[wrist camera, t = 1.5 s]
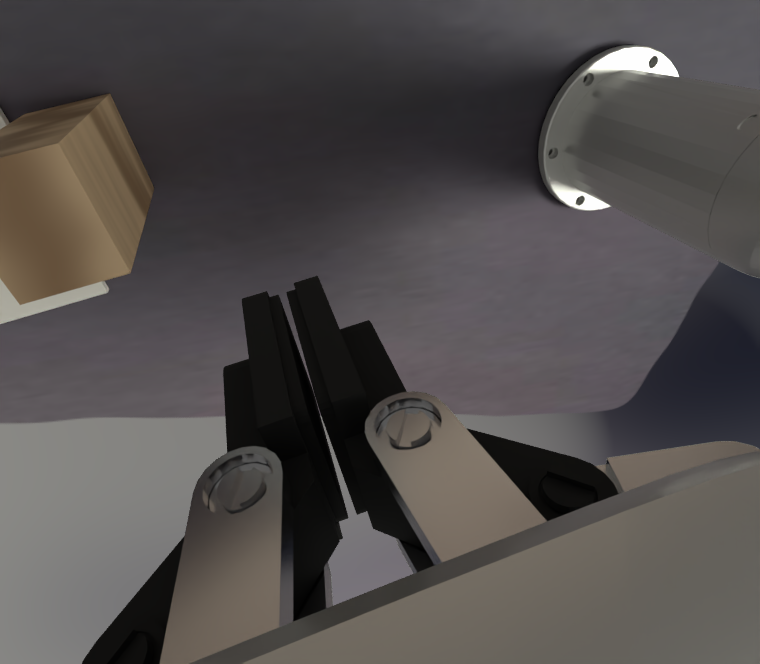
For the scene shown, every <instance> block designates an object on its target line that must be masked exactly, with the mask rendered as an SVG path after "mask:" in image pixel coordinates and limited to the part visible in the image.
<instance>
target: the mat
mask: <svg viewBox="0 0 760 664" xmlns="http://www.w3.org/2000/svg"><path fill="white" fill-rule="evenodd" d="M8 124H9V121H8V119H7V118H6V116H5V114H4V113H3V111H2V109H1V108H0V129H2V128H3V127H5V126H6V125H8ZM108 291H109V288H108V286H107V284H106V283H105V281H102V282H98V283H95V284H91V285H88V286H84V287H81V288H77V289H74V290H71V291H67V292H64V293H60V294H57V295H53V296H50V297H46V298H43V299H39V300H36V301H32V302H29V303H26V304H22V305H20V304H19V303H18V302H17V300H16V299H15V298H14V296H13V295H12V294H11V292H10V291H9V290H8V288H7V287H6V286H5V284H4V283H3V282H2V280H1V279H0V324H2V323H6V322H9V321H13V320H16V319H19V318H23V317H26V316H30V315H33V314H37V313H40V312H43V311H47V310H50V309H54V308H57V307H60V306H64V305H67V304H71V303H74V302H78V301H81V300H84V299H88V298H91V297H95V296H98V295H102V294H105V293H108Z"/></svg>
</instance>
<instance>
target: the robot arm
mask: <svg viewBox="0 0 760 664" xmlns="http://www.w3.org/2000/svg"><path fill="white" fill-rule="evenodd" d="M538 160H539V168H540V173H541V176H542V179H543V182H544V184H545V186H546V187H547V189H548V190H549V192H550V193H551V194H552V195H553V196H554V197H555V198H556V199H557V200H558V201H560V202H562V203H564V204H565V205H567V206H569V207H571V208H574V209H577V210H584V211H593V210H601V209H604V208H607V207H611V206H612V207H614V208H616V209H618V210H620V211H622V212H624V213H626V214H628V215H630V216H632V217H634V218H635V219H637V220H639V221H641V222H643V223H645V224H647V225H649V226H651V227H653V228H655V229H657V230H659V231H661V232H663V233H665V234H667V235H669V236H671V237H673V238H675V239H677V240H679V241H681V242H683V243H684V244H686V245H688V246H690V247H692V248H694V249H696V250H698V251H700V252H702V253H704V254H706V255H708V256H710V257H712V258H714V259H716V260H718V261H720V262H722V263H724V264H726V265H728V266H730V267H732V268H734V269H736V270H738V271H740V272H743V273H745V274H748V275H750V276H754V277H758V278H760V90H757V89H751V88H745V87H739V86H733V85H727V84H720V83H714V82H708V81H702V80H696V79H690V78H684V77H679V75H678V72H677V70H676V68H675V67H674V65H673V64H672V62H671V60H670V59H669V58H667V57H666V56H665V55H664V54H663V53H662V52H660V51H658V50H655V49H653V48H651V47H646V46H639V45H622V46H618V47H614V48H610V49H607V50H605V51H603V52H601V53H599V54H597V55H595V56H594V57H592V58H591V59H590V60H588V61H587V62H586V63H584V64H583V65H582V66H580V67H579V68H578V69H577V70H576V71H575V72H574V73H573V74H572V75H571V76H570V77H569V78H568V80H567V81H566V82H565V84H564V85H563V86H562V88H561V89H560V90H559V92H558V93H557V95H556V97H555V99H554V100H553V102H552V104H551V106H550V108H549V110H548V112H547V115H546V118H545V120H544V123H543V126H542V130H541V135H540V139H539V150H538ZM294 285H295V288H296V289H295V290H292V291H289V292H286V293H287V297H288V300H289V304H290V307H291V311H292V315H293V318H294V322H295V325H296V329H297V332H298V336H299V340H300V343H301V347H302V350H303V354H304V358H305V361H306V365H307V368H308V372H309V375H310V379H311V383H312V386H313V389H312V386H311V384H310V381H309V378H308V375H307V372H306V370H305V367H304V364H303V361H302V358H301V356H300V353H299V350H298V347H297V345H296V342H295V339H294V336H293V333H292V331H291V328H290V325H289V322H288V320H287V317H286V314H285V311H284V308H283V306H282V303H281V300H280V297H279V295H276V296H272V297H269V295H268V293H267V291H266V292H263V293H260V294H256V295H253V296H250V297H246V298H243V299H242V306H243V314H244V322H245V330H246V338H247V346H248V354H249V359H247V360H244V361H241V362H238V363H235V364H231V365H228V366H225V367H224V370H223V376H224V396H225V416H226V436H227V453H226V454H225V455H223V456H221V457H220V458H218V459H216V460H215V461H214V462H213V463H212V464H211V465H210V466H209V467H208V468H207V469H206V470H205V471H204V472H203V474H202V475H201V477H200V478H199V479H198V481H197V484H196V487H195V489H194V492H193V497H192V501H191V507H190V511H189V516H188V522H187V527H186V532H185V536H184V537H183V539H182V540H181V541H180V542H179V543H178V545H177V546H176V547H175V548H174V550H173V551H172V552H171V553H170V554H169V555H168V557H167V558H166V559H165V560H164V561H163V562H162V564H161V565H160V566H159V567H158V569H157V570H156V571H155V572H154V573H153V574H152V576H151V577H150V578H149V579H148V581H147V582H146V583H145V584H144V585H143V587H142V588H141V589H140V590H139V591H138V592H137V594H136V595H135V596H134V597H133V598H132V600H131V601H130V602H129V603H128V604H127V606H126V607H125V608H124V609H123V611H122V612H121V613H120V614H119V615H118V616H117V618H116V619H115V620H114V621H113V622H112V624H111V625H110V626H109V627H108V628H107V630H106V631H105V632H104V633H103V634H102V635H101V637H100V638H99V639H98V640H97V641H96V643H95V644H94V646H93V647H92V649H91V650H90V652H89V653H88V654H87V656H86V657H85V659H84V660H83V662H82V664H760V449H758V448H756V447H754V446H751V445H747V444H743V443H740V442H736V441H717V442H711V443H704V444H697V445H690V446H683V447H678V448H670V449H664V450H657V451H650V452H644V453H637V454H630V455H623V456H617V457H610V458H607V461H606V464H605V465H599V466H594V465H593V464H591V463H588V462H586V461H583V460H581V459H578V458H575V457H571V456H567V455H564V454H559V453H556V452H552V451H549V450H545V449H541V448H538V447H534V446H530V445H526V444H523V443H519V442H515V441H511V440H508V439H504V438H500V437H496V436H493V435H489V434H485V433H481V432H478V431H474V430H470V429H466V428H465V427H464V425H463V424H462V423H461V422H460V421H459V420H458V419H457V417H456V416H455V415H454V414H453V413H452V412H451V410H450V409H449V408H448V407H447V406H446V405H445V404H444V403H443V402H442V401H441V400H439V399H438V398H437V397H435V396H432V395H430V394H427V393H423V392H414V391H412V392H407V391H406V389H405V388H404V386H403V384H402V382H401V380H400V378H399V376H398V374H397V372H396V370H395V368H394V366H393V364H392V362H391V360H390V358H389V356H388V355H387V353H386V351H385V349H384V347H383V345H382V343H381V341H380V339H379V337H378V335H377V333H376V331H375V329H374V327H373V325H372V324H371V322H370V321H369V320H368V321H365V322H362V323H359V324H355V325H352V326H349V327H346V328H343V329H339V327H338V324H337V322H336V319H335V317H334V315H333V312H332V310H331V307H330V305H329V302H328V300H327V297H326V295H325V293H324V290H323V288H322V285H321V283H320V280H319V278H318V276H315V277H312V278H309V279H305V280H302V281H299V282H296V283H294ZM313 390H314V392H313ZM314 393H315V396H314ZM315 397H316V399H315ZM316 400H317V403H318V406H317V403H316ZM318 407H319V410H320V413H321V416H322V419H323V422H324V424H325V427H326V430H327V433H328V435H329V438H330V441H331V444H332V446H333V449H334V452H335V455H336V458H337V460H338V463H339V466H340V469H341V471H342V474H343V477H344V480H345V483H346V485H347V488H348V491H349V494H350V496H351V499H352V502H353V505H354V507H355V510H356V513H357V514H360V513H363V512H366V511H368V514H369V517H370V521H371V523H372V527H373V529H375V530H378V531H381V532H383V533H385V534H388V535H390V536H393V537H395V538H396V540H397V543H398V546H399V548H400V550H401V552H402V554H403V556H404V557H405V559H406V561H407V563H408V565H409V567H410V568H411V570H412V572H413V574H412V575H410V576H407V577H405V578H402V579H400V580H397V581H395V582H392V583H389V584H387V585H384V586H382V587H379V588H377V589H374V590H372V591H369V592H367V593H364V594H362V595H359V596H357V597H354V598H352V599H349V600H347V601H344V602H342V603H339V604H337V605H334V606H333V597H332V582H331V571H330V567H329V563H328V560H329V558H330V557H331V555H332V553H333V552H334V550H335V548H336V546H337V545H338V543H339V540H340V539H342V538H343V537H342V533H341V530H340V525H339V521H342V520H344V519H347V518H348V515H347V511H346V507H345V503H344V500H343V496H342V493H341V489H340V485H339V482H338V478H337V475H336V471H335V468H334V464H333V461H332V457H331V453H330V449H329V446H328V442H327V439H326V435H325V431H324V428H323V424H322V421H321V417H320V413H319V410H318Z"/></svg>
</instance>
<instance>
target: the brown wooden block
mask: <svg viewBox="0 0 760 664" xmlns="http://www.w3.org/2000/svg"><path fill="white" fill-rule="evenodd" d="M153 191H154V187H153V184H152V182H151V180H150V178H149V176H148V174H147V172H146V169H145V167H144V165H143V163H142V161H141V159H140V157H139V154H138V152H137V150H136V148H135V146H134V144H133V142H132V140H131V137H130V135H129V133H128V131H127V129H126V127H125V125H124V122H123V120H122V118H121V116H120V114H119V112H118V110H117V107H116V105H115V103H114V101H113V99H112V97H111V95H110V93H109V94H105V95H101V96H97V97H93V98H89V99H85V100H81V101H76V102H72V103H68V104H64V105H60V106H56V107H52V108H47V109H43V110H39V111H35V112H31V113H27V114H24V115H22V116H21V117H19V118H17V119H16V120H14V121H13V122H11V123H9V124H8V125H6V126H5V127H3V128H2V129H0V279H1V280H2V282H3V283H4V284H5V286H6V287H7V288H8V290H9V291H10V292H11V294H12V295H13V296H14V298H15V299H16V300H17V302H18V303H19V304H20V305H22V304H26V303H29V302H32V301H36V300H39V299H43V298H46V297H50V296H53V295H57V294H60V293H64V292H67V291H71V290H74V289H77V288H81V287H84V286H88V285H91V284H95V283H98V282H102V281H105V280H109V279H112V278H115V277H119V276H122V275H126V274H129V273H131V270H132V266H133V263H134V259H135V256H136V252H137V249H138V245H139V241H140V238H141V234H142V231H143V227H144V224H145V220H146V216H147V213H148V209H149V206H150V202H151V198H152V195H153Z"/></svg>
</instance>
